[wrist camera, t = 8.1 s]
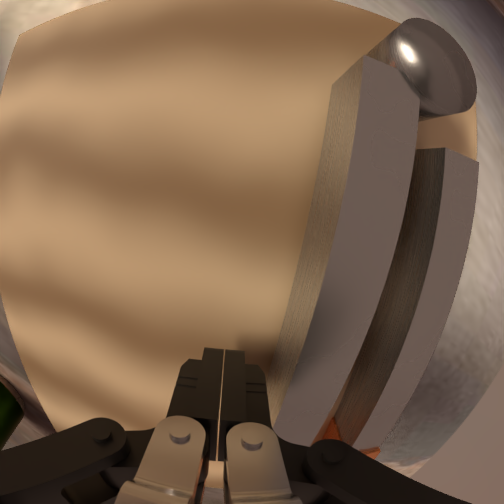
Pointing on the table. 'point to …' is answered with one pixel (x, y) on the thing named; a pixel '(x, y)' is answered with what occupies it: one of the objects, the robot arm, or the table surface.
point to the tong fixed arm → (411, 299)
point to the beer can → (9, 410)
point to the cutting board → (166, 189)
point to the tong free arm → (358, 214)
